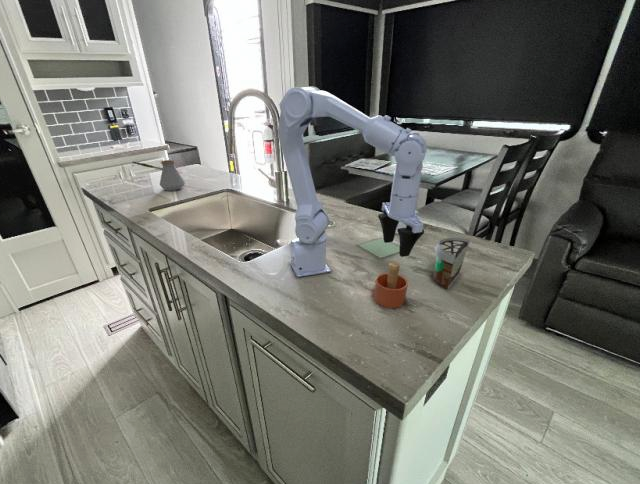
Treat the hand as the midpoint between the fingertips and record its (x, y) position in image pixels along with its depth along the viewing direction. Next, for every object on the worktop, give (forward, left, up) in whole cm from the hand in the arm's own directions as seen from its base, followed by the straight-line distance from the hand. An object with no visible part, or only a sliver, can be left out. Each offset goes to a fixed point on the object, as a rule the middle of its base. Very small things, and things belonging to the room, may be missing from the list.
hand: (395, 248), depth 78 cm
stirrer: (-4, -6, -9) cm, 12 cm away
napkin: (+7, +18, -10) cm, 22 cm away
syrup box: (+19, +28, -10) cm, 36 cm away
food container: (+14, -2, -10) cm, 17 cm away
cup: (-4, -6, -10) cm, 12 cm away
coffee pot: (-63, +103, -10) cm, 121 cm away
